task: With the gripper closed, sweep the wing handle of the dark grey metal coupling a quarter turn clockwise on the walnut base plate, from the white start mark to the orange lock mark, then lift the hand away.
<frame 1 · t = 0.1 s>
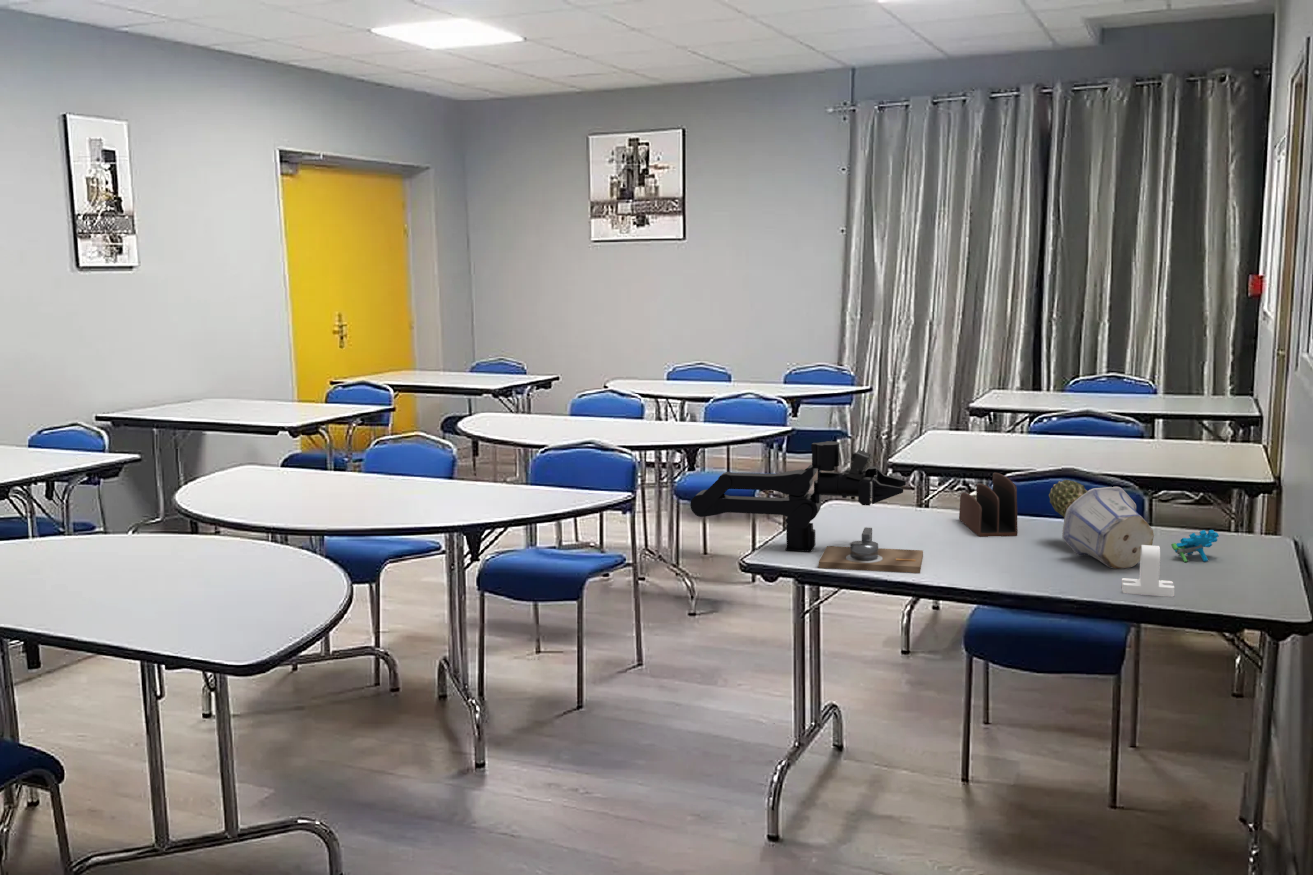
hand: (904, 486, 265), 17 cm above the table, tool horizontal, fingers open, 9 cm apart
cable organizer: (1147, 592, 232), on the table
coupling: (865, 543, 261), point 4 cm above the table, hinge at 0.0°
blue spiky toy dinosaur: (1193, 559, 257), on the table
base plate: (871, 562, 260), on the table
potted plant: (1093, 555, 262), on the table
letter holder: (987, 529, 291), on the table
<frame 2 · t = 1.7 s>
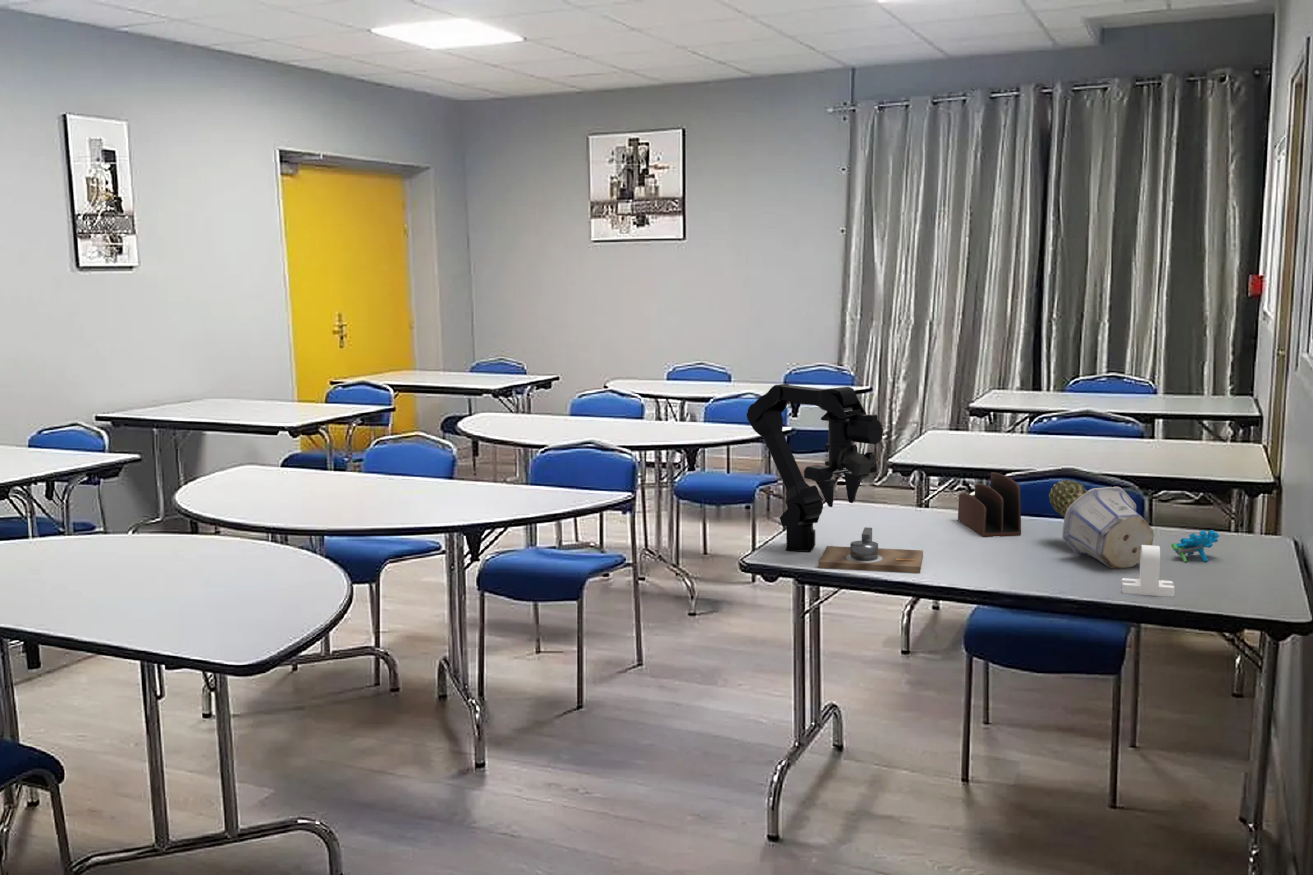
hand: (840, 504, 263), 13 cm above the table, tool pointing down, fingers open, 6 cm apart
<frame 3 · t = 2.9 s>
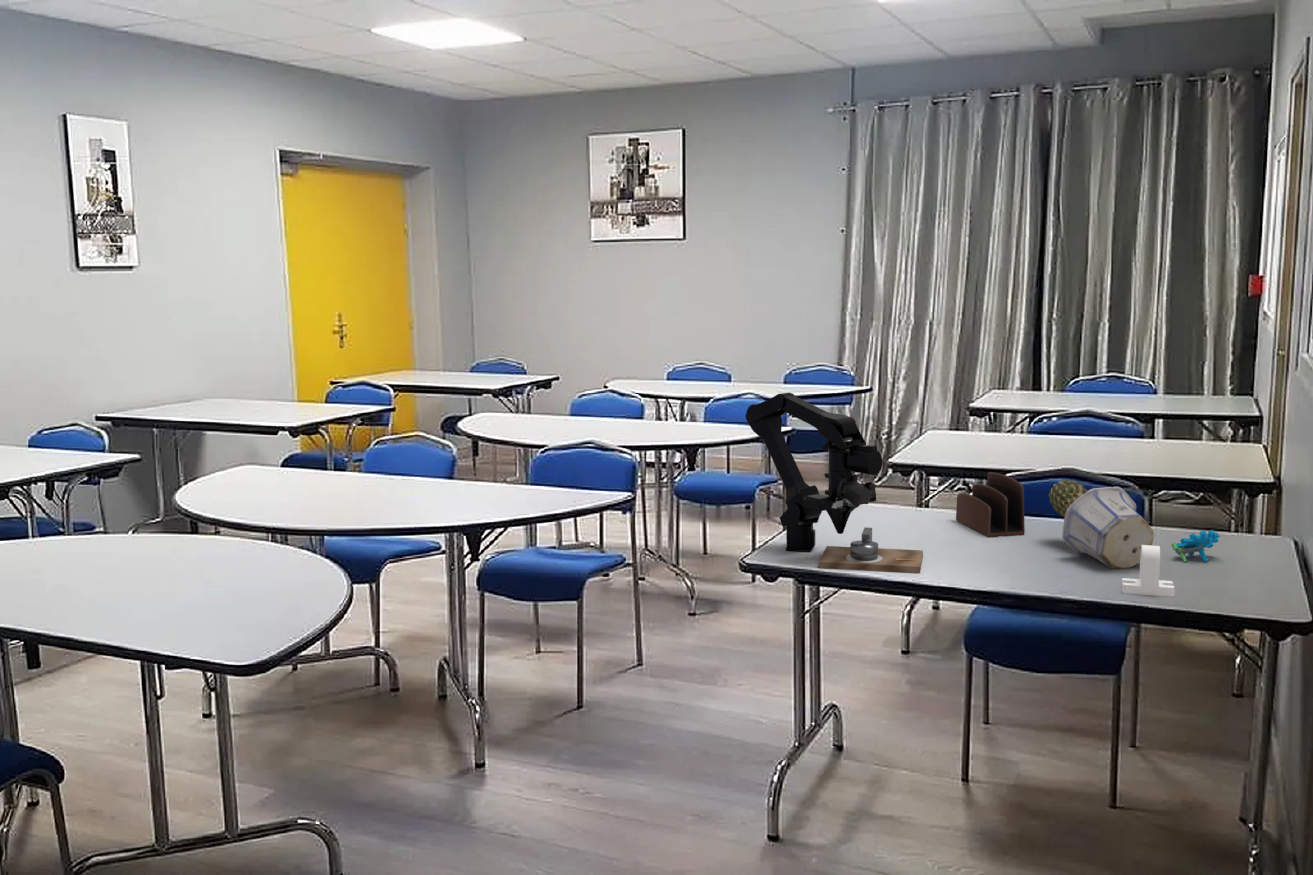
hand: (840, 533, 264), 6 cm above the table, tool pointing down, fingers closed
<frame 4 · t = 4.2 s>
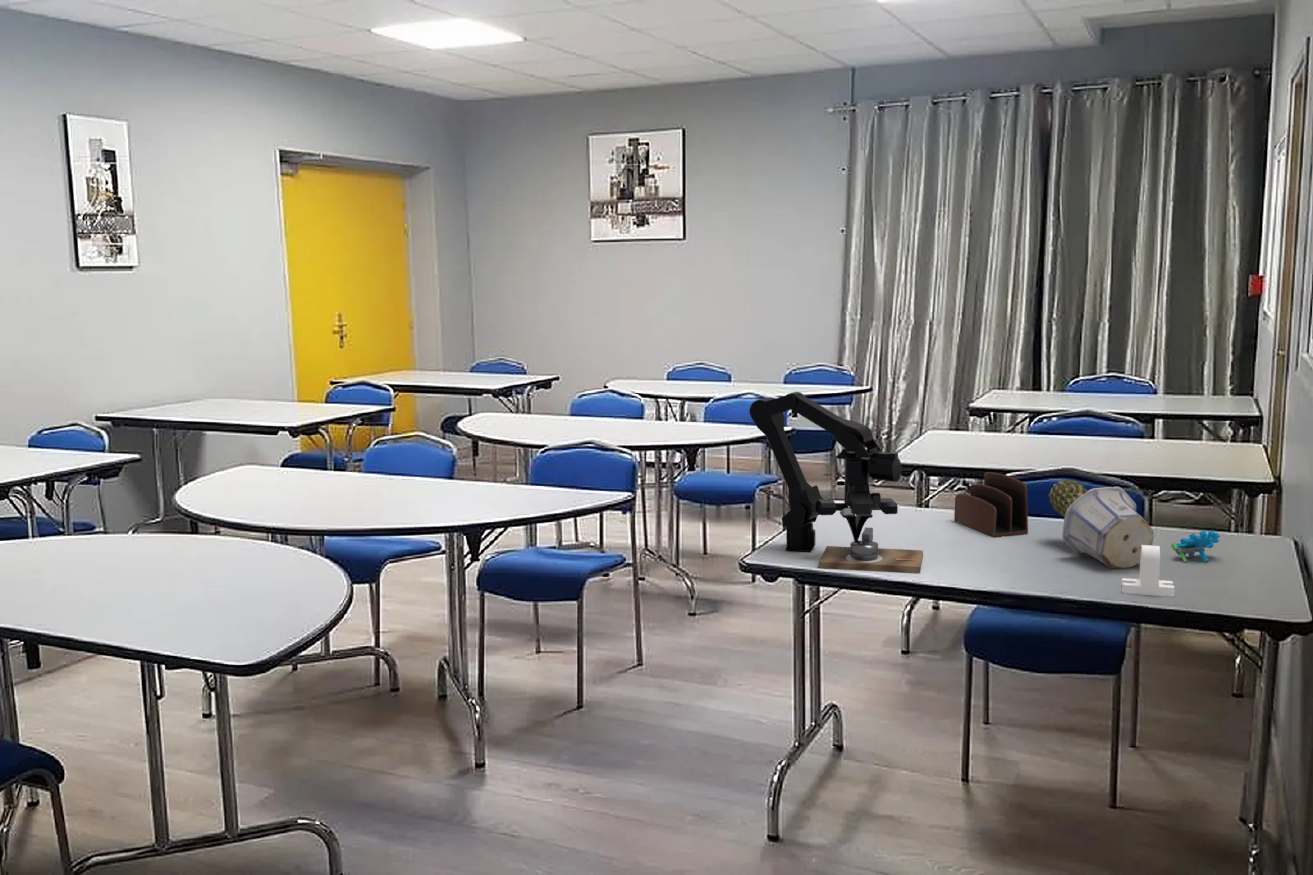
hand: (855, 541, 265), 4 cm above the table, tool pointing down, fingers closed
coupling: (865, 543, 261), point 4 cm above the table, hinge at 1.1°, touching gripper
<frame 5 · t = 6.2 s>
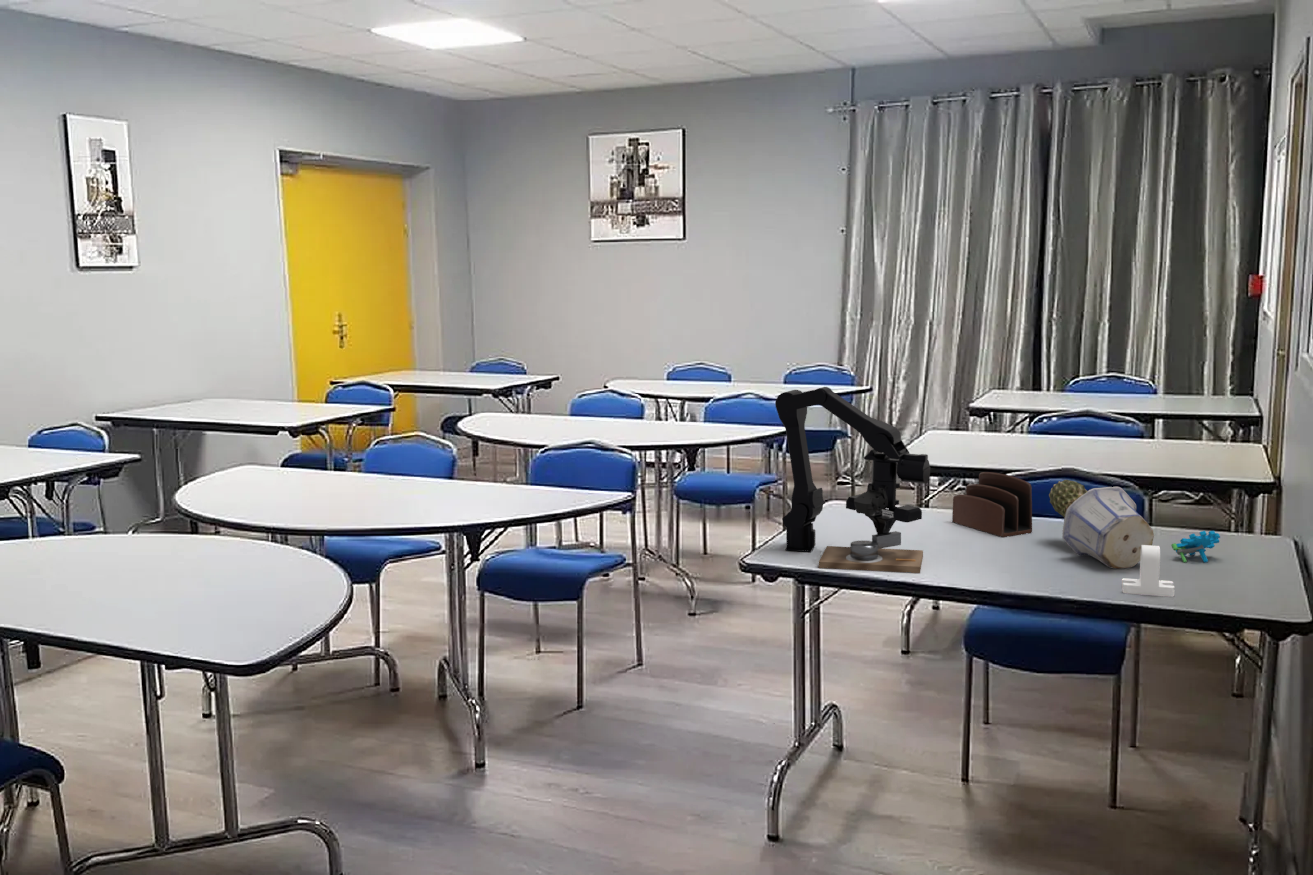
hand: (881, 542, 263), 4 cm above the table, tool pointing down, fingers closed
coupling: (876, 544, 259), point 4 cm above the table, hinge at 46.3°, touching gripper
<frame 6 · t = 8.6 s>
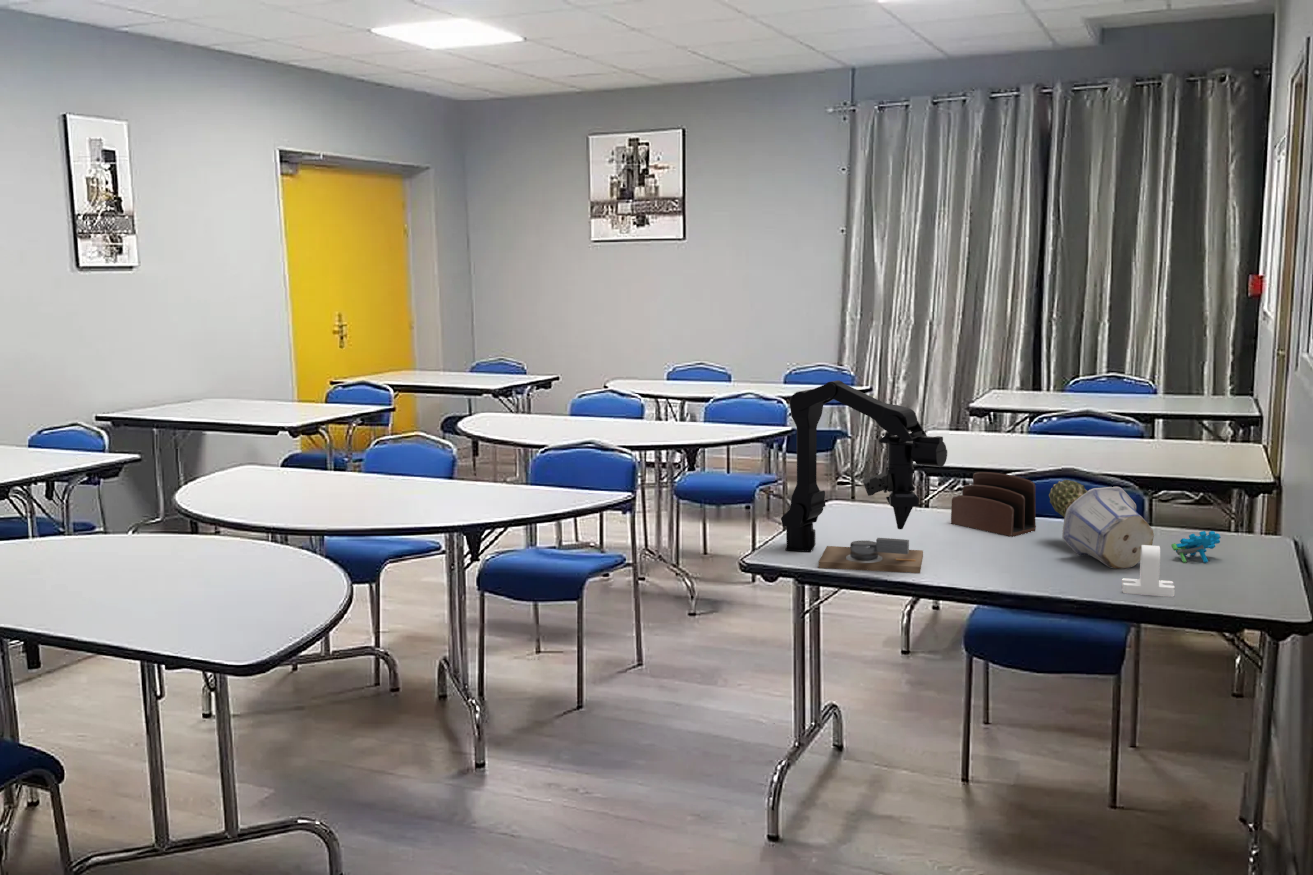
hand: (900, 529, 256), 9 cm above the table, tool pointing down, fingers closed
coupling: (879, 548, 256), point 4 cm above the table, hinge at 96.8°
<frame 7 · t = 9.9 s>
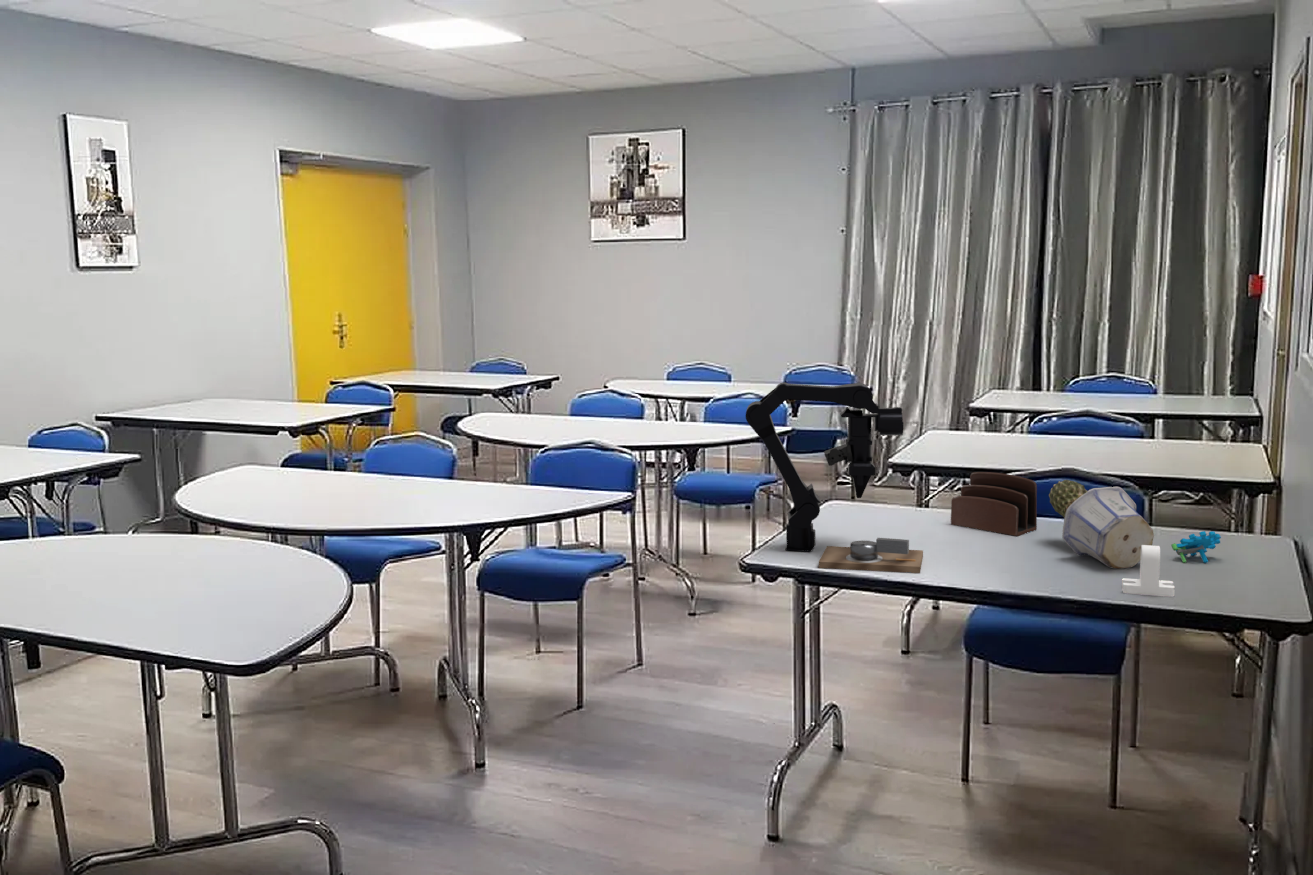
hand: (858, 497, 271), 13 cm above the table, tool pointing down, fingers closed
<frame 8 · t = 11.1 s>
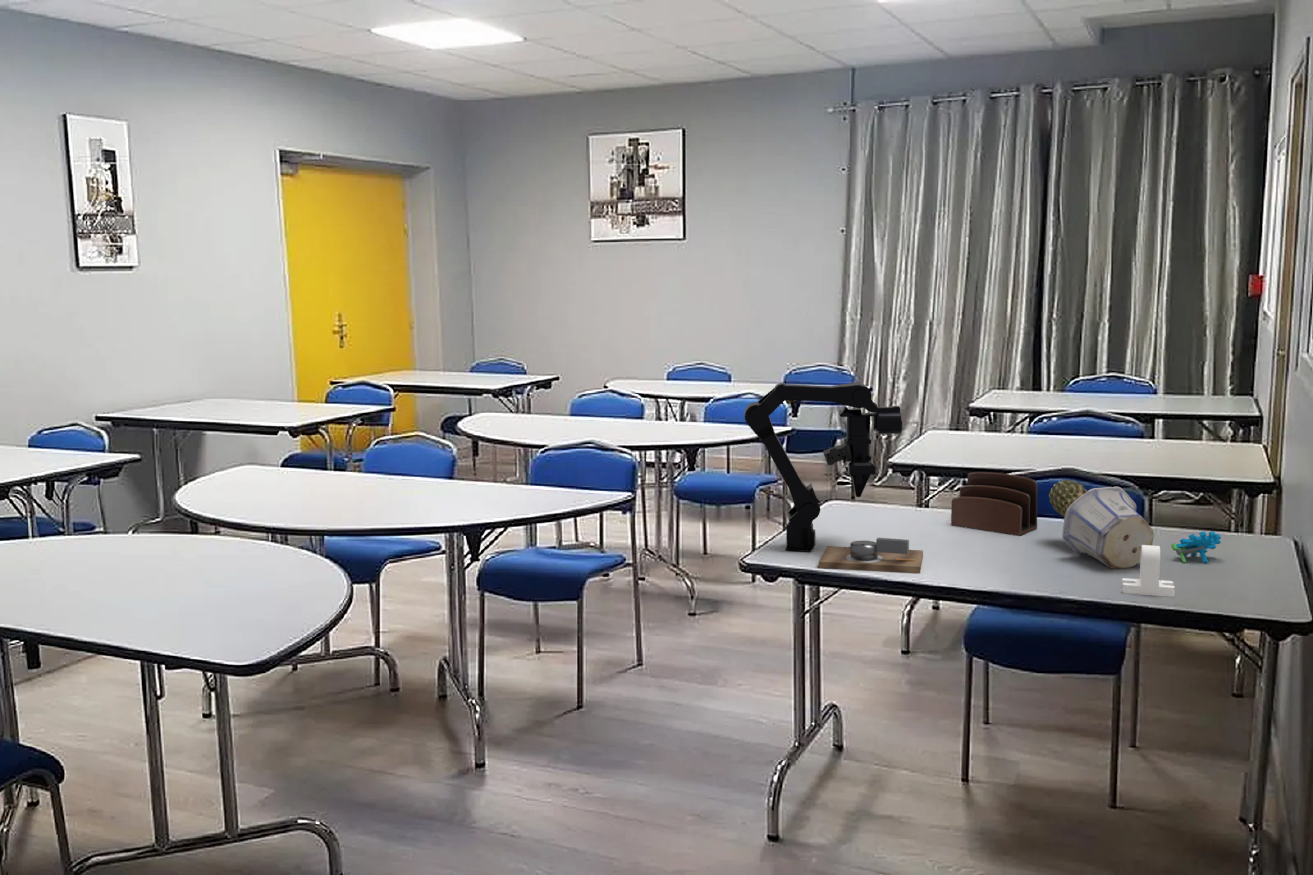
hand: (858, 496, 271), 13 cm above the table, tool pointing down, fingers closed
at the end: coupling at +97° (first picture: +0°) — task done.
